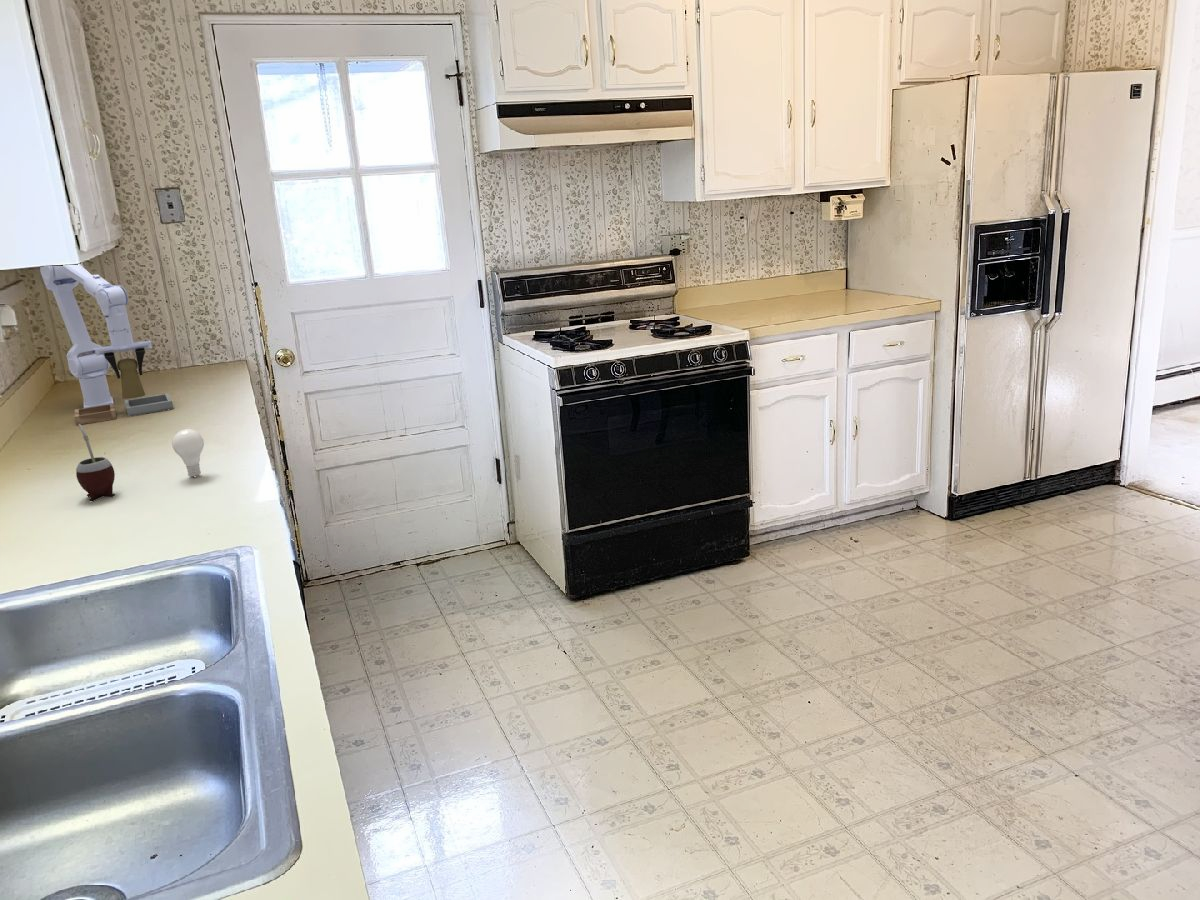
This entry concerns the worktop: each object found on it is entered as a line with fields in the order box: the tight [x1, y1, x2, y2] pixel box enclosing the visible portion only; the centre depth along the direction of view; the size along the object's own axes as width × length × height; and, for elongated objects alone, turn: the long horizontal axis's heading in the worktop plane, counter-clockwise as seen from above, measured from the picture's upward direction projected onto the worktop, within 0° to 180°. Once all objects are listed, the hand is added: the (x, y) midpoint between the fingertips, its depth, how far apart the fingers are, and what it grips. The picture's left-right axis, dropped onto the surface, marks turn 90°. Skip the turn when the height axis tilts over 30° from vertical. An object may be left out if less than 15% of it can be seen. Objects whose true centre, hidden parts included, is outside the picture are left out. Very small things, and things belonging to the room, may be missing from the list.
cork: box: [116, 358, 146, 400], centre depth 262 cm, size 6×6×11 cm
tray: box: [124, 392, 174, 417], centre depth 267 cm, size 12×12×2 cm
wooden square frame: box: [74, 403, 117, 426], centre depth 259 cm, size 10×10×2 cm
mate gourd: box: [75, 424, 116, 502], centre depth 192 cm, size 8×8×15 cm
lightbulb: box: [171, 428, 205, 478], centre depth 201 cm, size 6×6×11 cm
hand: (130, 376), depth 262 cm, fingers closed on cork, 5 cm apart
